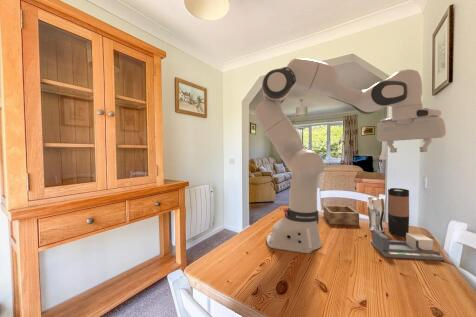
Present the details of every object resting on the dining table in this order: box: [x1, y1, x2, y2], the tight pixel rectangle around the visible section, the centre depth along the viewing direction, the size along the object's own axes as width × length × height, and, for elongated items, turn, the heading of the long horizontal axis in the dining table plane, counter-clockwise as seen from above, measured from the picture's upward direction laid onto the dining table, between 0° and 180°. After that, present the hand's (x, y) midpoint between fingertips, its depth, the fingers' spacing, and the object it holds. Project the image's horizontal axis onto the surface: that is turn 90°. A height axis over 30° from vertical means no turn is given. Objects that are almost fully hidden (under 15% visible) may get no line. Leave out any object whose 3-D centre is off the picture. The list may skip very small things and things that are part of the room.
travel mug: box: [387, 187, 410, 237], centre depth 92 cm, size 8×8×20 cm
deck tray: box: [322, 205, 360, 226], centre depth 112 cm, size 14×14×6 cm
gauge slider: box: [405, 232, 434, 251], centre depth 74 cm, size 5×8×4 cm, turn 170°
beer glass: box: [366, 196, 386, 233], centre depth 97 cm, size 7×7×15 cm
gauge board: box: [370, 239, 445, 261], centre depth 76 cm, size 18×11×2 cm, turn 80°
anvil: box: [372, 230, 390, 252], centre depth 77 cm, size 2×8×5 cm, turn 171°
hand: (407, 152), depth 76 cm, fingers open, 8 cm apart
